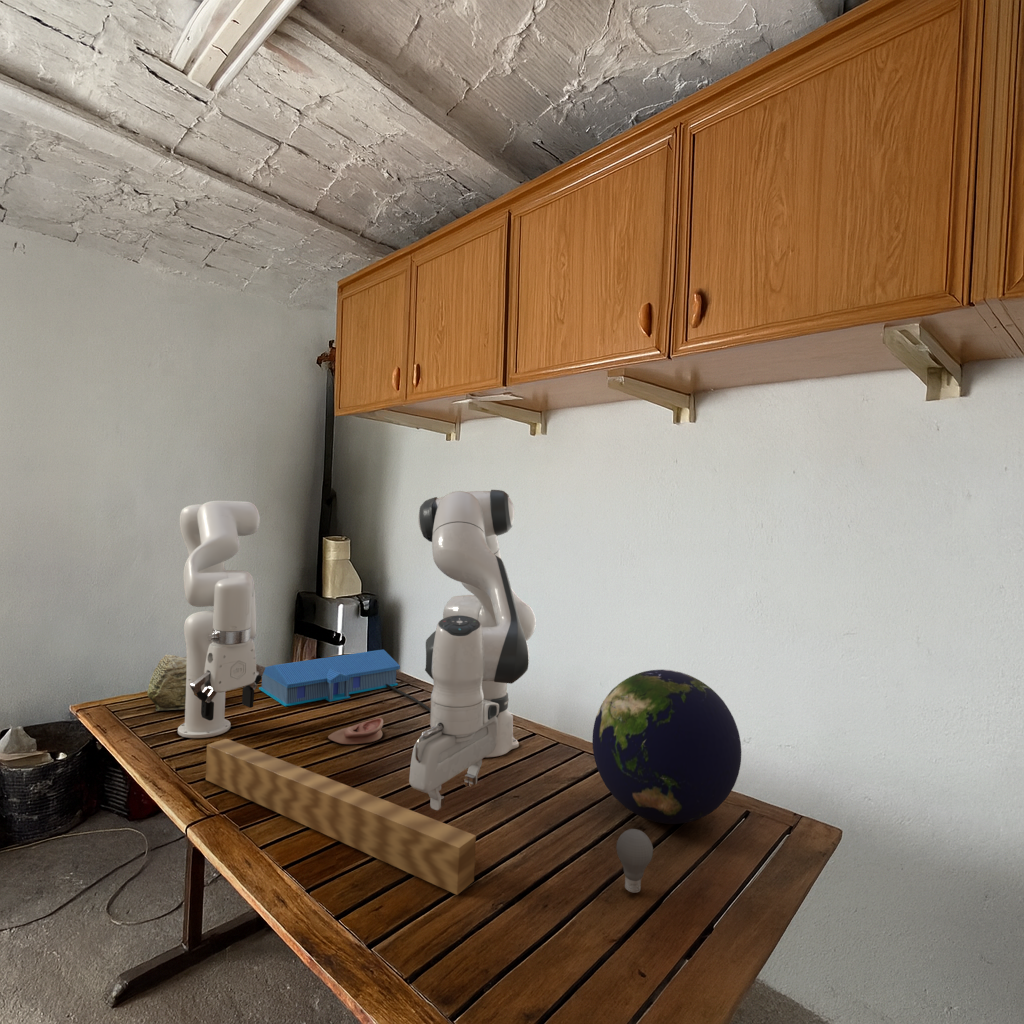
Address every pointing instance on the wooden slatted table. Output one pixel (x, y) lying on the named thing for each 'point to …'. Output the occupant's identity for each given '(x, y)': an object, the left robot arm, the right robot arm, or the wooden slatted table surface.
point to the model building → (329, 677)
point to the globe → (666, 746)
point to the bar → (347, 815)
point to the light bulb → (634, 857)
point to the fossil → (169, 683)
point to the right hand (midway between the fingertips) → (454, 796)
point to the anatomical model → (359, 733)
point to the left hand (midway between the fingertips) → (228, 712)
